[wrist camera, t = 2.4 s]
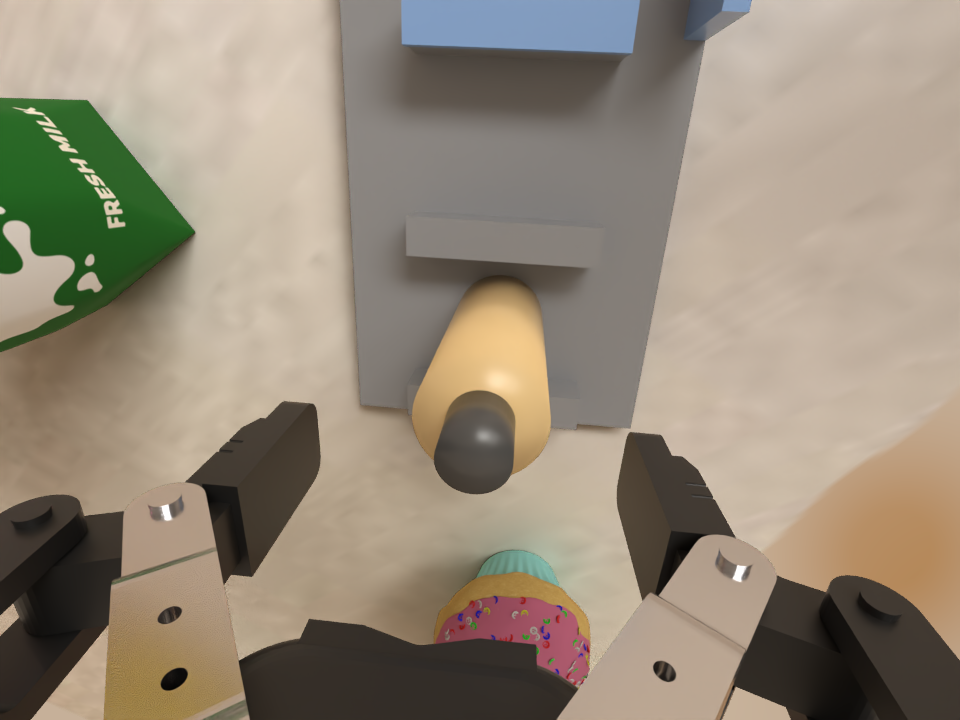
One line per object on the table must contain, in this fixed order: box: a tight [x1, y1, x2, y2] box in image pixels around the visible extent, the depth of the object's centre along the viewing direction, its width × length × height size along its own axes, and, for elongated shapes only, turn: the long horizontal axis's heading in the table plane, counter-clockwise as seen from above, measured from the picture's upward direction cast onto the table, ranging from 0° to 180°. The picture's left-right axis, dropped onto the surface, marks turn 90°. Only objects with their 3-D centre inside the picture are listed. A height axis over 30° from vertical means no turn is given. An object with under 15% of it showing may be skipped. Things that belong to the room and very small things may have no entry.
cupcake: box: [434, 550, 590, 689], centre depth 25 cm, size 9×8×12 cm
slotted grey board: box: [340, 0, 752, 430], centre depth 19 cm, size 14×26×5 cm, turn 177°
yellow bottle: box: [412, 275, 551, 494], centre depth 18 cm, size 4×4×12 cm
